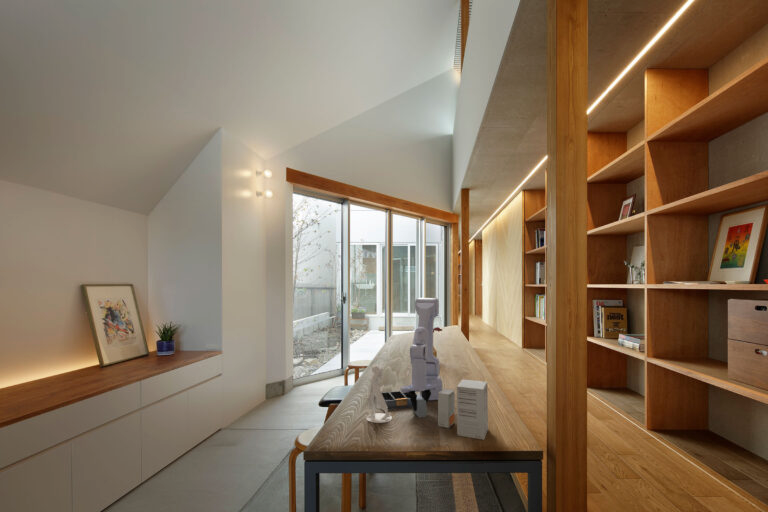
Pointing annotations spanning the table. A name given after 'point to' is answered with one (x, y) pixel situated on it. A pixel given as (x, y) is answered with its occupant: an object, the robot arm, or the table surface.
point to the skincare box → (446, 408)
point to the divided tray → (397, 400)
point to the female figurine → (377, 398)
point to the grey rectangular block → (420, 407)
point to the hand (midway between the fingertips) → (419, 409)
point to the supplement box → (472, 409)
